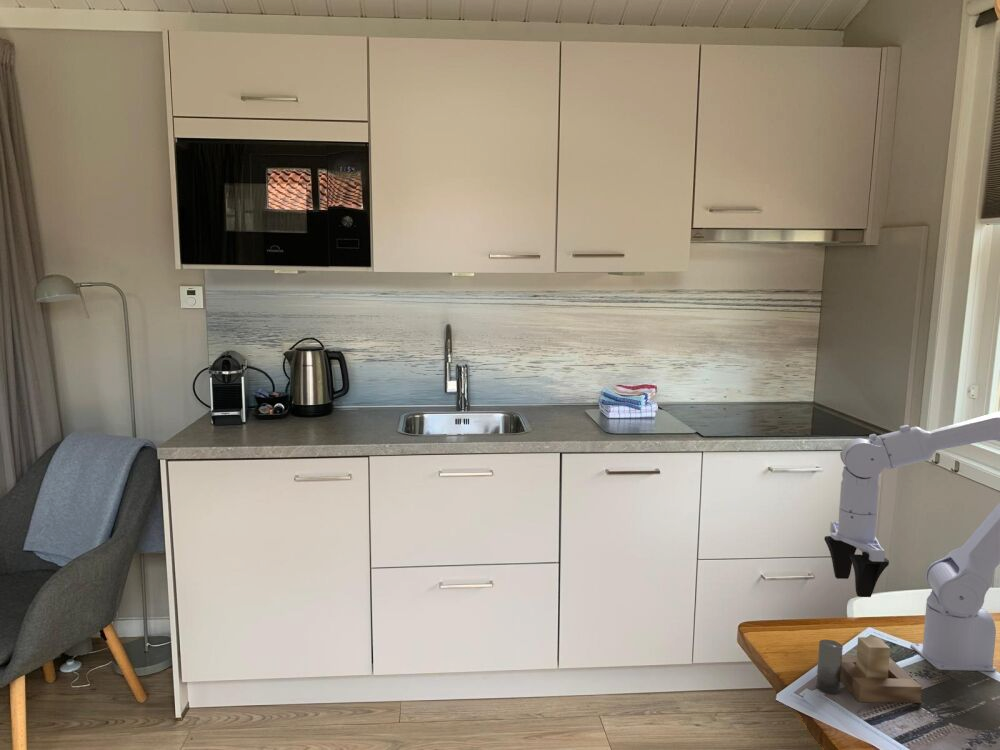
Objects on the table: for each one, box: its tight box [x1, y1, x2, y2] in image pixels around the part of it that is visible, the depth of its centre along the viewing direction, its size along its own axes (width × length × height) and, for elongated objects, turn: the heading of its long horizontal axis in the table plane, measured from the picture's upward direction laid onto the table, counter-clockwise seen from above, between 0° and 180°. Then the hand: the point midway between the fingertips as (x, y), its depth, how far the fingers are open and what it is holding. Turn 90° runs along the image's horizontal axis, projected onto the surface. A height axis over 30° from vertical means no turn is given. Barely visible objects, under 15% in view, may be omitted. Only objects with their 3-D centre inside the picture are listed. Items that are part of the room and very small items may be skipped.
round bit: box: [815, 639, 843, 695], centre depth 106 cm, size 3×3×7 cm
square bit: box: [856, 636, 891, 678], centre depth 107 cm, size 3×3×7 cm
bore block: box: [840, 654, 923, 704], centre depth 107 cm, size 9×9×2 cm
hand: (852, 586), depth 120 cm, fingers open, 7 cm apart
